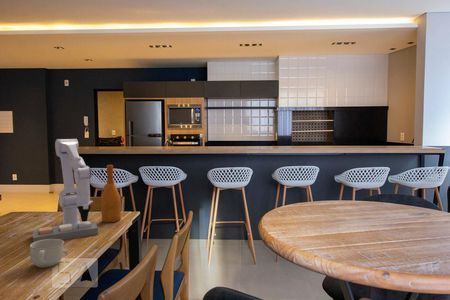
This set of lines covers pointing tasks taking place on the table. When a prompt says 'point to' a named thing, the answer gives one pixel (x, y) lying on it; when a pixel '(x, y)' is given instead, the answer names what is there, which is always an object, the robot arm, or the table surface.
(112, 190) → the wine bottle
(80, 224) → the pale blue key
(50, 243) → the teacup
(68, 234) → the key console
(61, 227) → the off-white key
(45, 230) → the terracotta key
